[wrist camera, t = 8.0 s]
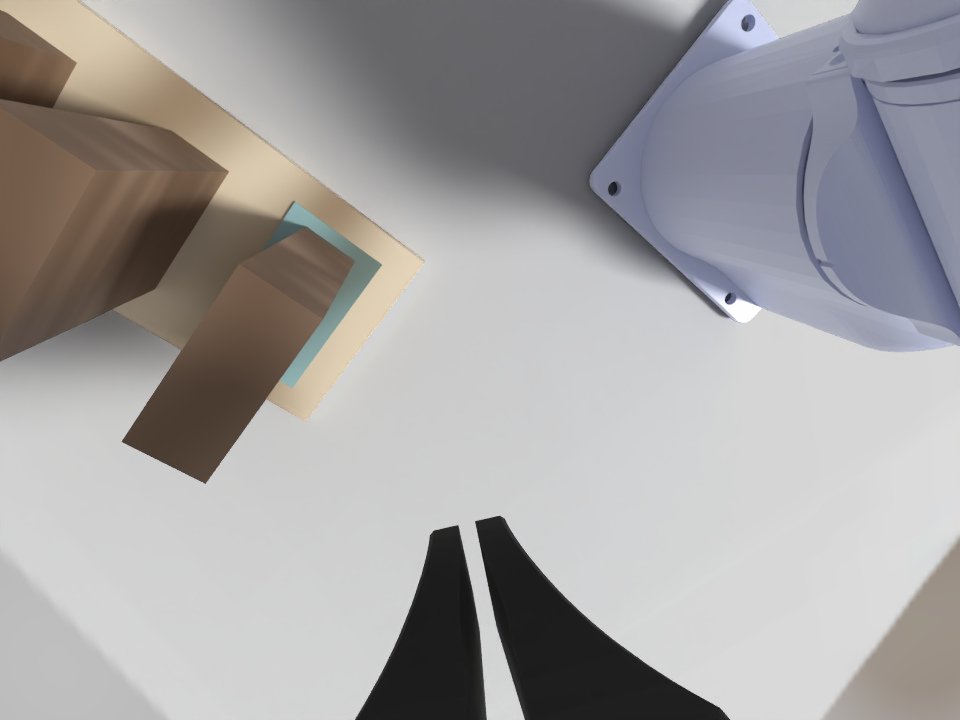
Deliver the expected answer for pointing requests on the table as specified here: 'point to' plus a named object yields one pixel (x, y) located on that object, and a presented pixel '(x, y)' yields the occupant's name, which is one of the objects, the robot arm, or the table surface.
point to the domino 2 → (239, 353)
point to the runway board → (227, 201)
